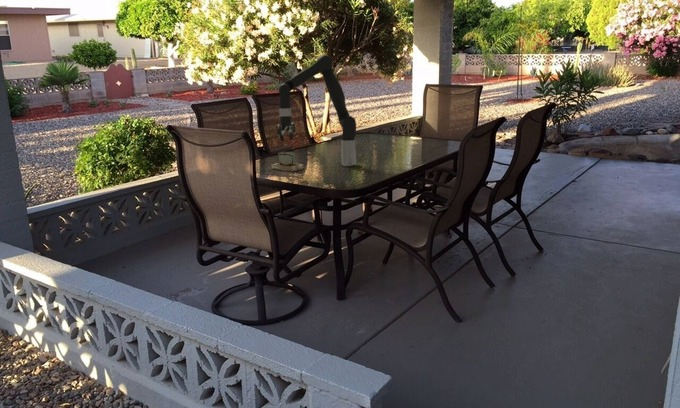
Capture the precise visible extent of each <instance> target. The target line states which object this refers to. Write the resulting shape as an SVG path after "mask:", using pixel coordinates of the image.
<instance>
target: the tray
mask: <svg viewBox="0 0 680 408" xmlns="http://www.w3.org/2000/svg"><path fill="white" fill-rule="evenodd" d="M304 166H305V164H303V163H296V162H295V163H294V162H293V166H283V165H280V163H279V162H277V163H272V164H271V169H272V170H277V171H284V172H296V171H301V170H304V169H305V167H304Z"/></svg>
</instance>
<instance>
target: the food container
mask: <svg viewBox="0 0 680 408" xmlns="http://www.w3.org/2000/svg"><path fill="white" fill-rule="evenodd" d="M295 155H296V154H295V153H294V151H293V152H292V151H280V152H278V153H277V156H278V163H280V165H283V166H293V163H294V157H295Z"/></svg>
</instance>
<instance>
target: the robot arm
mask: <svg viewBox="0 0 680 408" xmlns="http://www.w3.org/2000/svg"><path fill="white" fill-rule="evenodd" d="M320 73H321V75H322V77H323V81H324V83H325V86H326V87H325V88H326V90H327V92H328V95H329V97H330V101H331V102H332V105H333V107H334V109H335V111H336V115H337V118H338V123H339V125H340V127H341V128H342V134H341V135H340V136H341V137H340V138H341V140H340V142H341V143H340V145H341V146H340V147H341V148H340V149H341V166H342V165H343V167H354V166H356V165H357V151H356V134H357V122H356V119H355V117H353V116H352V115H350V113H349V111H348V108H347V105H346V97H345V96H346V95H345V93H344V90H343V88H342V85H341V83H340V82H339V80H338V78H337V76H336V75H335V73H334V70H333V58H332V57H331V56H330V55H327V54H321V55H319V56H318V57H317V59H316V61H315V62H314V63H313V64H312V65H311V66H309V67H307V68H306V69H304V70H302V71H300V72H298V73H297V74H295V75H293V76H292V77H291V78H289V79H288V80H286V81H284V82H282V83H281V84H280V85H279V86H278V89H277V90H278V93H279V103H278V105H279V123H280V125H279V124H278V125H276V131H277V132H276V134H277V135H278V136H279V140H280V142H285V141H284V134H285V133H286V132H288V133H289V135H288V137H289V140H290V141H292V140H293V139H294V133H296V126H295V123H292V110H291V91H294V89H297V88H298V87H301V86H302V85H303V84H304V83H306V82H307V81H308V80H310V79H312V78H313V77H314V76H316V75H318V74H320ZM355 164H356V165H355ZM353 165H354V166H353Z"/></svg>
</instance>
